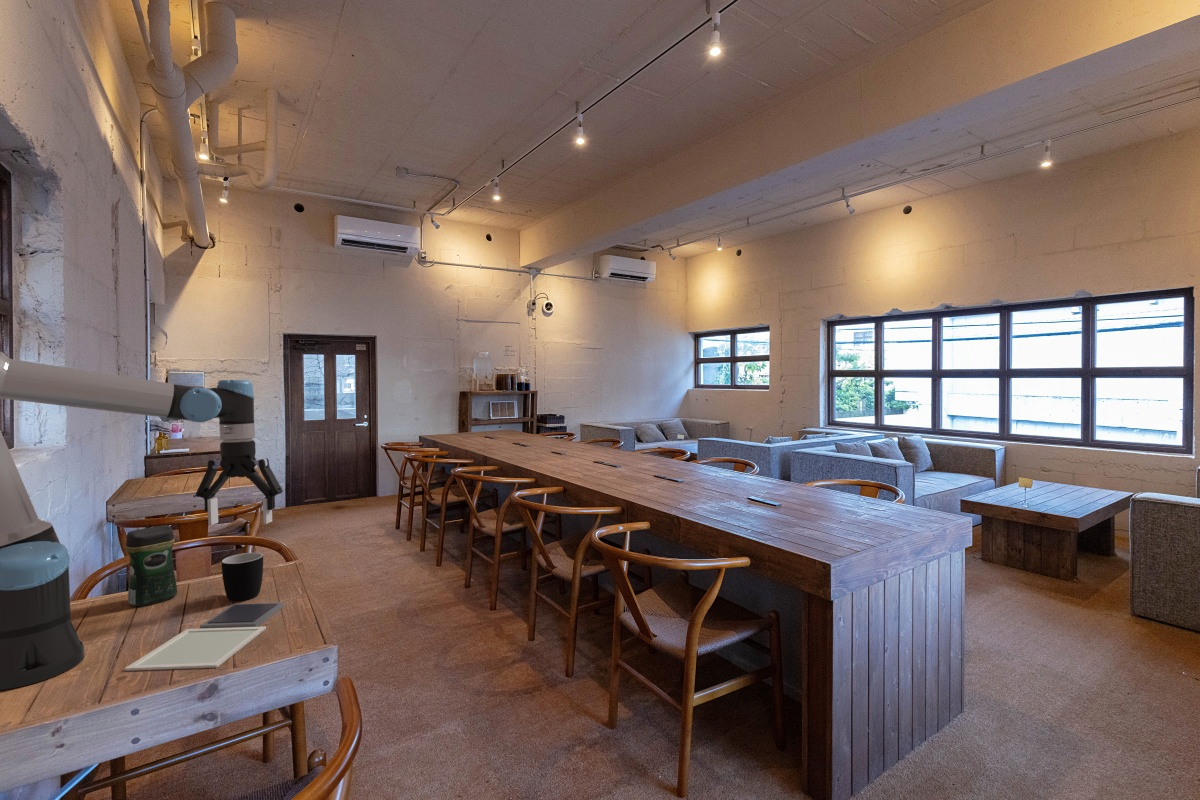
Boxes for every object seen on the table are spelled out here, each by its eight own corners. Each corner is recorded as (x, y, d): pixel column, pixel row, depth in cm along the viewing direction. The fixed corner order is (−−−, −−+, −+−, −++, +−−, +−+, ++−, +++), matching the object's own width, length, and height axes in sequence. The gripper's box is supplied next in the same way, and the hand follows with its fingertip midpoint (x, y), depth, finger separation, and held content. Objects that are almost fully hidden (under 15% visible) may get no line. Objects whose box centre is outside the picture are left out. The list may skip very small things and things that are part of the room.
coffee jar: (170, 591, 147) (168, 521, 147) (181, 597, 142) (178, 525, 142) (123, 602, 140) (121, 529, 139) (132, 610, 135) (130, 534, 134)
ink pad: (200, 629, 123) (200, 624, 123) (233, 608, 135) (233, 603, 135) (255, 628, 124) (255, 622, 124) (283, 606, 136) (283, 601, 136)
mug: (272, 593, 144) (270, 555, 144) (236, 606, 136) (235, 565, 136) (243, 586, 150) (242, 549, 149) (207, 598, 142) (206, 559, 141)
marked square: (124, 670, 106) (124, 668, 106) (186, 631, 123) (186, 629, 123) (217, 667, 106) (216, 665, 106) (266, 628, 123) (266, 626, 123)
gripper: (176, 442, 137) (180, 528, 138) (279, 441, 138) (282, 525, 139) (197, 439, 145) (200, 520, 145) (295, 438, 145) (297, 518, 146)
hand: (240, 523), depth 142 cm, fingers open, 13 cm apart
